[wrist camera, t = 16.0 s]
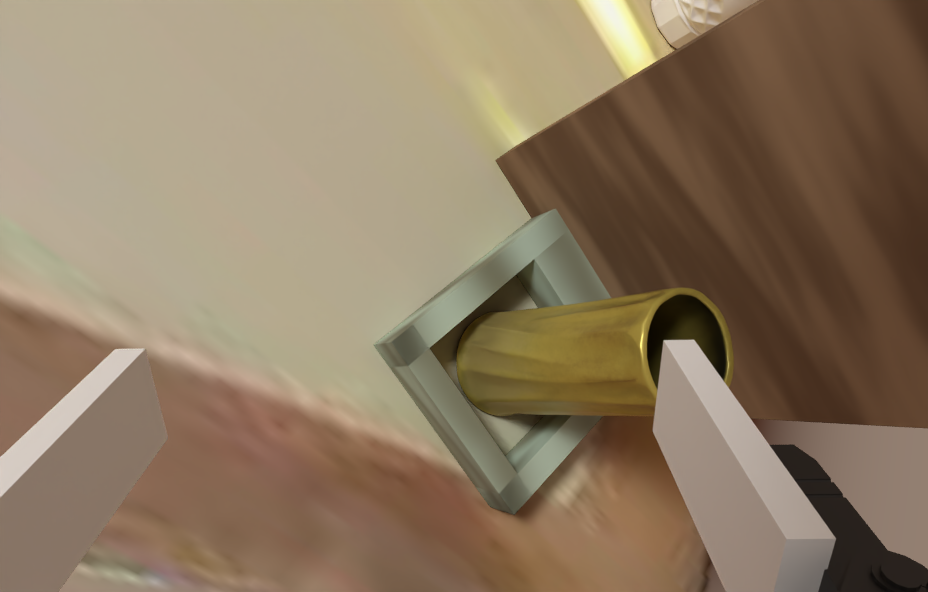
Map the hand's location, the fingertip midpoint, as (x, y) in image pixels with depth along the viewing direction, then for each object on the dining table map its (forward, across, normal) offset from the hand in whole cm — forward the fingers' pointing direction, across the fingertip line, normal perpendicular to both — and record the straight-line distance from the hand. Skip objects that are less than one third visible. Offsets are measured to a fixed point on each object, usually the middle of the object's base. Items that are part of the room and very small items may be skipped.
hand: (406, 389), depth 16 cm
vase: (+19, +3, -10) cm, 22 cm away
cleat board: (+20, +5, -9) cm, 23 cm away
